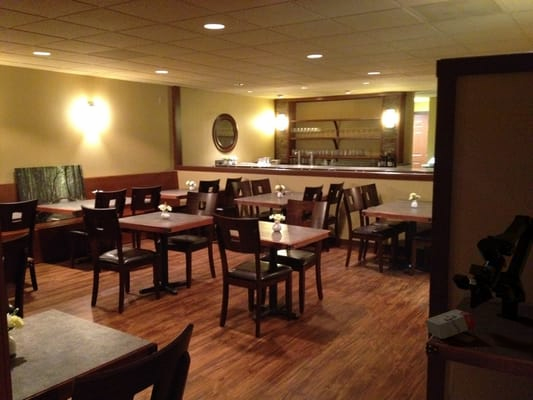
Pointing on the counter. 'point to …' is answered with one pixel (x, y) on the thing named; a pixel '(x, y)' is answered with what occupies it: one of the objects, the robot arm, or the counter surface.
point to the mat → (464, 337)
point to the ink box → (450, 323)
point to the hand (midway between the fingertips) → (471, 308)
